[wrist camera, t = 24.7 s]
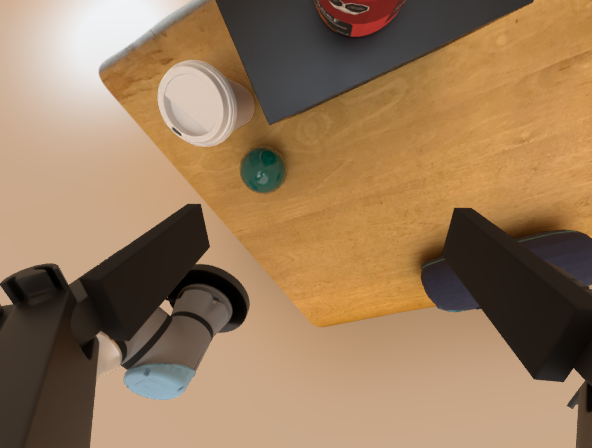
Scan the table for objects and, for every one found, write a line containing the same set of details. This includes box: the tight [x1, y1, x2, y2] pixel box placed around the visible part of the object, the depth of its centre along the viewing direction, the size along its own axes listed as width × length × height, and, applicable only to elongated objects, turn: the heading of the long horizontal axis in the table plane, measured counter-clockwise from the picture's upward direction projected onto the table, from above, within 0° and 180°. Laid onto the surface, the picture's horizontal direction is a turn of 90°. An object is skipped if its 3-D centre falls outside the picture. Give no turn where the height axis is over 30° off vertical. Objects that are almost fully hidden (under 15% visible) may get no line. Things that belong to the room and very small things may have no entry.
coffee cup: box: [158, 60, 255, 147], centre depth 35 cm, size 10×10×15 cm
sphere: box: [240, 146, 287, 194], centre depth 42 cm, size 8×8×8 cm
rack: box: [216, 0, 534, 125], centre depth 27 cm, size 14×24×18 cm, turn 113°
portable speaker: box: [421, 230, 592, 312], centre depth 43 cm, size 25×10×10 cm, turn 113°
